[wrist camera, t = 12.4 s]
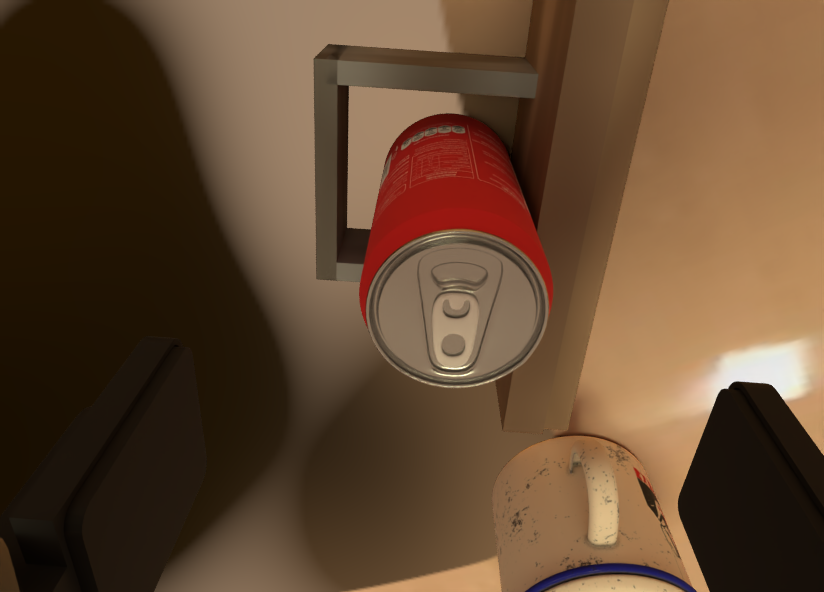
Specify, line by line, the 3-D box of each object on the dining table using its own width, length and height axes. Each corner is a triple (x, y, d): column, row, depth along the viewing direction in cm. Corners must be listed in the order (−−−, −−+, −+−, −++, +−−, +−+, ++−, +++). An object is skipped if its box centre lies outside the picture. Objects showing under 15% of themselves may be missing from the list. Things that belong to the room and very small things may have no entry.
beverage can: (515, 109, 25) (574, 225, 15) (502, 229, 28) (544, 400, 17) (386, 104, 25) (354, 216, 15) (384, 223, 28) (356, 392, 17)
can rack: (610, -50, 23) (684, -47, 16) (539, 329, 30) (568, 435, 24) (328, -70, 23) (285, -75, 16) (329, 315, 30) (300, 418, 24)
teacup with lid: (643, 543, 37) (722, 767, 27) (488, 548, 38) (509, 769, 28) (666, 379, 32) (777, 585, 21) (483, 388, 32) (506, 593, 22)
